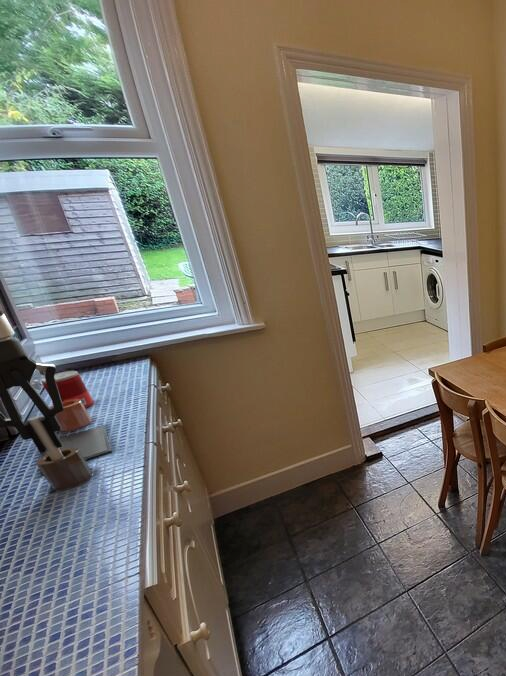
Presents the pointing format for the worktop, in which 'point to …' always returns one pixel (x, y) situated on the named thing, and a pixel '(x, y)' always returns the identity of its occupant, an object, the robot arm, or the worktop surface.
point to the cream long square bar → (45, 438)
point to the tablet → (88, 443)
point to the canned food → (71, 387)
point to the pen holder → (73, 415)
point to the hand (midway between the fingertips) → (51, 447)
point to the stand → (65, 469)
